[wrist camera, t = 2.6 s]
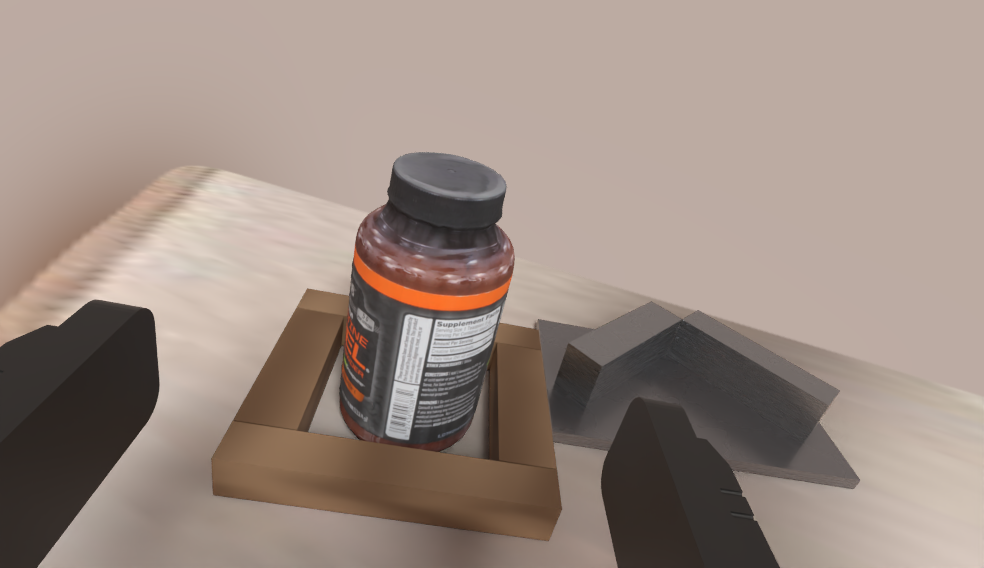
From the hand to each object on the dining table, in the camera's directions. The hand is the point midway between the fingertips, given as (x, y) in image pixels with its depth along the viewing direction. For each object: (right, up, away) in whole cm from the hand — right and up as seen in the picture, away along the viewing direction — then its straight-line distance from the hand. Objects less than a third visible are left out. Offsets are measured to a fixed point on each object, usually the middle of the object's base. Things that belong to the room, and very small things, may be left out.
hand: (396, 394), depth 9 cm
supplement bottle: (-2, -4, +15) cm, 16 cm away
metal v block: (+12, -4, +20) cm, 24 cm away
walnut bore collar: (-2, -4, +15) cm, 16 cm away
